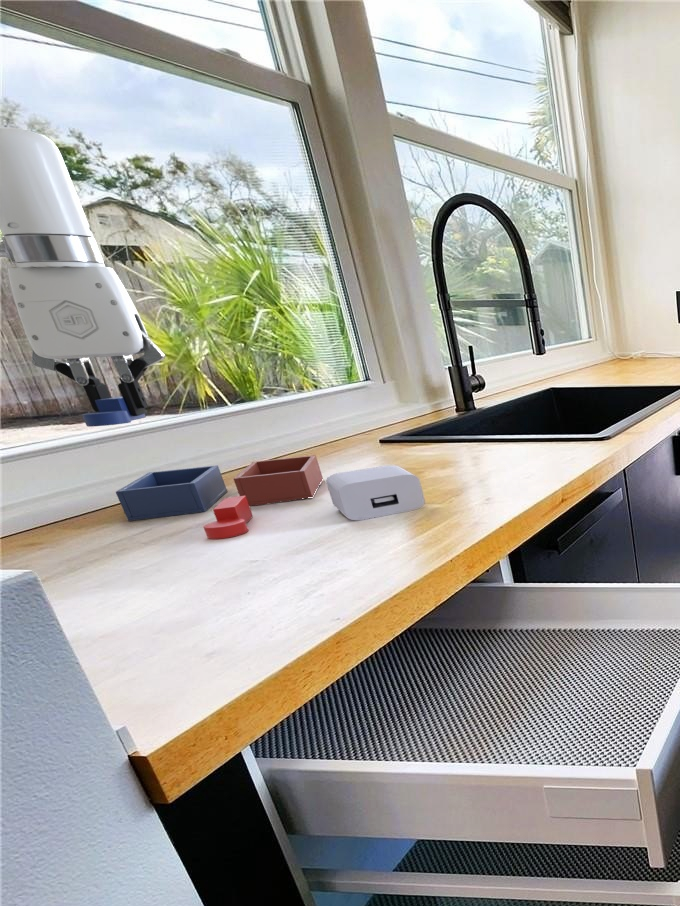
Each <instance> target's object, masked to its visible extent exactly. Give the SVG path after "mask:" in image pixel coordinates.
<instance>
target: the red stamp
mask: <svg viewBox="0 0 680 906" xmlns="http://www.w3.org/2000/svg"><path fill="white" fill-rule="evenodd" d="M212 511H213V514H214V516H215V519H216V521H211V522H208V523H207V524H204V525H203V530H204V533H205V535H206V537H207V538H208V539H211V540H220V539H228V538H234V537H238V536H241V535H243V534H246V533H247V532H248V531H249V528H248V525H247V524H248V523H249V521H250V520H252V518H253V516H254V515H253V512H252V510H251V506H249V504H248V501H247V499H246V496H230V497H224V498H223V499H222V501H220V502H219V503H218V504H217V505H216V506H215V507H214V508H213V509H212ZM251 517H252V518H251Z"/></svg>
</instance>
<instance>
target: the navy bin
mask: <svg viewBox="0 0 680 906" xmlns="http://www.w3.org/2000/svg"><path fill="white" fill-rule="evenodd" d="M227 492H228V489H227V486H226V483H225V480H224V478H223V475H222V473H221V470H220V467H219V465H218V464H217V465H208V466H199V467H198V466H197V467H189V468H188V467H187V468H179V469H169V470H161V471H160V470H159V471H152V472H151V471H150V472H147V473H145V474H143V475H142V476H140V477H139V478H137V479H135V480H134V481H132V482H130V483H128V484H127V485H125V486H123V487H121V488H119V489H118V490H116V491H115V494H116V497H117V499H118V501H119V504H120V506H121V508H122V510H123V512H124V515H125V517H126V519H127V522H134V521H143V520H151V519H157V518H158V519H159V518H165V517H175V516H181V515H190V514H191V515H192V514H198V513H205V512H207V511H208V510H210V508H211V507H212V506H213V505H214V504H215V503H216V502H217V501H218V500H220V499H221V498H222V497H223V496H224V495H225V494H226V493H227ZM221 496H222V497H221ZM220 497H221V498H220ZM219 498H220V499H219Z"/></svg>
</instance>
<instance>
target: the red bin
mask: <svg viewBox="0 0 680 906" xmlns="http://www.w3.org/2000/svg"><path fill="white" fill-rule="evenodd" d="M322 479H323V480H324V477H323V474H322V471H321V468H320V465H319V461H318V458H317V455H315V454H314V455H305V456H295V457H285V458H276V459H267V460H256V461H252V462H251V463H249V464H248V465H247V466H246V467H245V468H244V469H242V470H241V472H239V473H238V474H237V475H236V476H234V477H233V482H234V485H235V487H236V490H237V493H238V495H239V496H246V499H247V501H248V504H249V507H253V506H252V505H255V506H261V505H260V504H263V505H268V504H267V503H271V504H275V503H274V502H279V503H281V502H280V501H287V502H290V501H289V500H295V499H302V498H308V497H313V495H314V493H315V491H316V489H317V488H318V486H319V484H320V482H321V481H322ZM318 489H319V488H318ZM314 496H315V495H314ZM313 498H314V497H313ZM295 501H296V500H295Z"/></svg>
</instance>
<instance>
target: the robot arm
mask: <svg viewBox="0 0 680 906" xmlns="http://www.w3.org/2000/svg"><path fill="white" fill-rule="evenodd" d="M0 232H1V234H2V237H1V240H2V242H0V258H6V259H10V260H11V263H13V264H15V266H16V267H8V268H7V275H8V280H9V285H10V290H11V293H12V297H13V301H14V304H15V307H16V310H17V313H18V316H19V319H20V322H21V325H22V328H23V330H24V334H25V336H26V339H27V341H28V343H29V346H30V347H31V349H32V352H31V353H32V354H31V363H32V365H33V366H35V367H37V368H41V369H45V370H49V371H53V372H57V373H59V374H62V375H63V376H65V377H68V378H69V379H71V380H72V381H74V382H76V383H77V384H78V385H79V386H82V387H83V389H84V391H85V394H86V397H87V399H88V400H89V403H90V405H91V407H92V409H93V411H94V412H95V413H96V412H99V409H98V407H97V404H96V402H95V400H100V399H106V398H112V396H111V394H110V392H109V389H108V387H107V385H106V384H105V383H104V382H101V380H100V379H99V378H98V376H97V374H96V371H95V369H94V366H93V363H92V360H91V358H104V357H105V358H107V357H108V358H109V357H110V358H111V360H112V362H113V364H114V367H115V369H116V371H117V374H118V376H119V381H120V383H118V385H117V387H118V390H119V392H120V394H121V397H123V398H124V401H125V403H126V406H127V408H128V410H129V413H130V415H132V416H139V415H142V414H145V415H146V408H148V403H147V399H146V398H145V395H144V393H143V390H142V387H141V385H140V383H139V381H140V380H141V378H142V376H143V375H144V374H145V372H146V371H147V370H148V368H149V367H151V366H153V365H156V364H157V363H159V362H161V361H163V360H165V359H166V354H165V353H164V352H163V351H162V349H160V348H159V346H158V345H157V344H156V343H155V342H154V341H153V340H152V339H151V337H150V336H149V334H148V331H147V329H146V327H145V324H144V321H143V320H142V317H141V316H140V314H139V312H138V310H137V308H136V306H135V304H134V302H133V300H132V298H131V297H130V295H129V293H128V291H127V289H126V288H125V286H124V284H123V282H122V281H121V279H120V277H119V275H118V274H117V273H116V272H115V270H114V269H113V268H112V267H107V266H106V264H105V262H104V260H103V257H102V255H101V252H100V250H99V247H98V244H97V242H96V239H95V238H94V235H93V232H92V230H91V227H90V224H89V222H88V220H87V217H86V214H85V212H84V209H83V207H82V204H81V201H80V199H79V196H78V194H77V191H76V189H75V185H74V184H73V181H72V178H71V177H70V173H69V171H68V168H67V165H66V164H65V161H64V158H63V156H62V153H61V152H60V150H59V148H58V146H57V145H56V144H55V143H54V141H53V140H52V139H51V138H49V137H47V136H46V135H44V134H42V133H39V132H36V131H33V130H27V129H23V128H17V127H9V126H0ZM139 354H142V355H141V356H139V357H137V358H135V359H134V357H133V355H139ZM63 360H66V361H67V362H66V361H63Z"/></svg>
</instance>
